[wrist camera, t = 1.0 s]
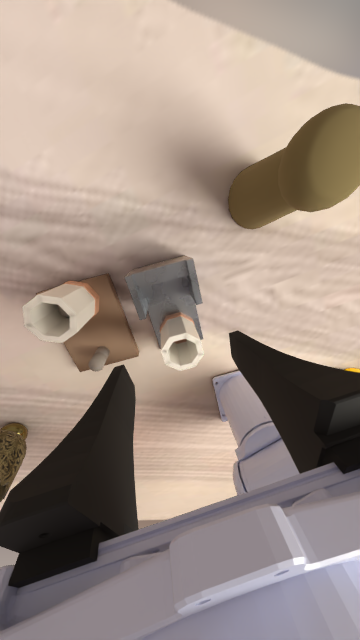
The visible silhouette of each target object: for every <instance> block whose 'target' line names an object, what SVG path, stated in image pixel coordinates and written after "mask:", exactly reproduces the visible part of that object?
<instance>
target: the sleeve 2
mask: <svg viewBox="0 0 360 640" xmlns="http://www.w3.org/2000/svg"><path fill="white" fill-rule="evenodd" d="M160 333H161V353H162V356H163V359H164V362H165V365H167V366H169V367H172V368H174V369H176V370H179V371H181V370H185V369H189V368H192V367H195V366H196V365H197V364H198V362H199V361H200V359H201V358H202V357H203V355H204V352H203V347H202V343H201V339H200V337H199V335H198V333H197V330H196V328H195V325H194V321H193V319H192V318H191V317H189V316H187V315H185V314H183V313H181V312H178V313H175V314H171V315H167V316H166V317H165V319H164V321H163V323H162V324H161V326H160Z"/></svg>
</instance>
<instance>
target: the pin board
mask: <svg viewBox="0 0 360 640" xmlns="http://www.w3.org/2000/svg"><path fill="white" fill-rule="evenodd" d="M78 282H82V283H88V284H89V285H90V286H91V288H92V289H93V290H94V291H95V292H96V293H97V294H98V295H99V312H98V313H97V314H96V315H94V316H93V317H92V318H91V319H90V320H89V321H88V322H87V323H86V324H85V325H84V326H83V327H82V328H81V329H80V330H79V331H78V332H77V333H76V334H74V335H73V336H72V337H70V338H69V339H68V340H66V341H65V342H63V343H64V344H65V346H66V348H67V350H68V351H69V353H70V355H71V357H72V359H73V360H74V362H75V364H76V366H77V367H78V369H79V371H80V372H82V371H86V370H90V369H91V370H93V371H100V370H102V368H103V366H104V365H108V364H112V363H115V362H119V361H123V360H126V359H130V358H134V357H138V355H139V350H138V347H137V345H136V342H135V340H134V337H133V334H132V332H131V329H130V327H129V324H128V322H127V319H126V316H125V314H124V311H123V309H122V306H121V304H120V301H119V299H118V296H117V293H116V291H115V288H114V286H113V283H112V281H111V278H110V276H109V273H108V274H104V275H100V276H96V277H93V278H89V279H85V280H82V281H78ZM52 289H53V288H52ZM48 290H51V289H48ZM48 290H45V291H41V292H39V293H36V295H38V294H40V293H43V292H46V291H48ZM58 310H59V312H60V313H61V314H62V315H64V316H66V317H70V316H69V315H68V314H67V313H66V312H65V311H64V310H63V309H62V308H61V307H60V306H58Z"/></svg>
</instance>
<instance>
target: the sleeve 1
mask: <svg viewBox="0 0 360 640" xmlns="http://www.w3.org/2000/svg"><path fill="white" fill-rule="evenodd" d="M58 306H60V307H61V308H62V309H63V310H64V311H65V312H66V313H67V314H68V315H69V316H70V317H66V316H64V315H62V314H61V313H60V312H59V310H58ZM22 310H23V320H24V326H25V327H26V328H27V329H28V330H29V331H30V332H32V333H33V334H34V335H35V336H36V337H37V338H38V339H40V340H41V341H47V342H56V343H63V342H65V341H66V340H68V339H69V338H70V337H72V336H73V335H74V334H76V333H77V332H78V331H79V330H80V329H81V328H82V327H83V326H84V325H85V324H86V323H87V322H88V321H89V320H90V319H91V318H92V317H93V316H94V315H96V314H97V313H98V312H99V295H98V294H97V293H96V292H95V291H94V290H93V289H92V288H91V286H90V285H89V284H88V283H82V282H76V281H68V282H65V283H64V284H63V285H61V286H58V287H56V288H53V289H51V290H48V291H46V292H43V293H40V294H38V295H37V296H35V297H34V298H33V299H31V300H30V301H29V302H28V303H26V304H25V305H24V306H23V307H22Z"/></svg>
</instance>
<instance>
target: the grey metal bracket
mask: <svg viewBox="0 0 360 640" xmlns="http://www.w3.org/2000/svg"><path fill="white" fill-rule="evenodd" d="M125 280H126V282H127V285H128V288H129V291H130V294H131V296H132V299H133V302H134V305H135V307H136V310H137V313H138V316H139V319H140V320H142V319H146V316H147V311H148V313H149V316H150V319H151V322H152V325H153V328H154V331H155V334H156V337H157V340H158V343H159V346H160V349H161V333H160V326H161V324H162V323H163V321H164V319H165V317H166V316H167V315H171V314H175V313H178V312H181V313H183V314H185V315H187V316H189V317H191V318H192V319H193V321H194V325H195V328H196V330H197V333H198V335H199V337H200V339H203V336H202V332H201V327H200V323H199V319H198V314H197V310H196V305H198V304H201V303H202V299H201V294H200V289H199V284H198V280H197V275H196V270H195V265H194V261H193V258H190V257H187V256H185V255H184V256H181V257H177V258H173V259H170V260H166V261H162V262H159V263H155V264H151V265H147V266H144V267H140V268H136V269H133V270H132V271H131V272H130V273H129V274H128V275H126V276H125ZM195 303H196V305H195Z"/></svg>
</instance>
